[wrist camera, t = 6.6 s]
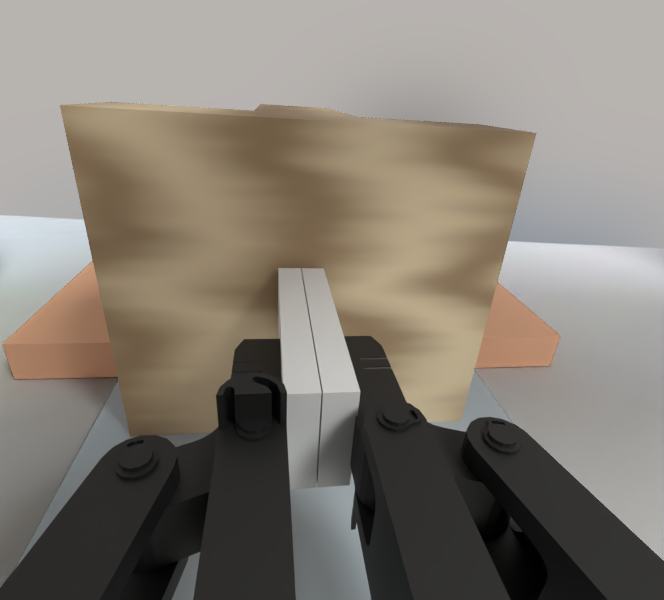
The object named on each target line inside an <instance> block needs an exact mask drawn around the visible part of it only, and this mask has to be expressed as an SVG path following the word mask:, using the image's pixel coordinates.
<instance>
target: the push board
mask: <svg viewBox="0 0 664 600" xmlns="http://www.w3.org/2000/svg"><path fill="white" fill-rule="evenodd" d="M560 337H561V336H560V335H559V334H558V333H557V332H555V331H554V330H553V329H552V328H551V327H549V326H548V325H547V324H546V323H545V322H544V321H542V320H541V319H540V318H539V317H538V316H537V315H535V314H534V313H533V312H532V311H531V310H530V309H528V308H527V307H526V306H525V305H524V304H523V303H521V302H520V301H519V300H518V299H517V298H516V297H514V296H513V295H512V294H511V293H510V292H508V291H507V290H506V289H505V288H504V287H503V286H501V285H500V284H499V283H498V282H497V285H496V289H495V293H494V297H493V300H492V304H491V308H490V312H489V316H488V320H487V323H486V327H485V331H484V335H483V339H482V343H481V346H480V350H479V354H478V358H477V362H476V365H475V368H490V367H530V366H550V365H551V362H552V359H553V356H554V354H555V351H556V348H557V345H558V343H559V340H560ZM2 345H3V348H4V351H5V354H6V357H7V360H8V362H9V365H10V368H11V371H12V374H13V377H14V379H53V378H92V377H117V372H116V368H115V363H114V358H113V354H112V349H111V344H110V339H109V335H108V330H107V325H106V320H105V316H104V311H103V306H102V302H101V297H100V292H99V287H98V283H97V278H96V273H95V269H94V264H93V261H92V262H91V263H90V264H89V265H88V266H86V267H85V268H84V269H83V270H82V271H81V272H80V273H79V274H78V275H77V276H76V277H75V278H73V279H72V280H71V281H70V282H69V283H68V284H67V285H66V286H65V287H64V288H63V289H62V290H60V291H59V292H58V293H57V294H56V295H55V296H54V297H53V298H52V299H51V300H50V301H48V302H47V303H46V304H45V305H44V306H43V307H42V308H41V309H40V310H39V311H38V312H37V313H35V314H34V315H33V316H32V317H31V318H30V319H29V320H28V321H27V322H26V323H25V324H23V325H22V326H21V327H20V328H19V329H18V330H17V331H16V332H15V333H14V334H13V335H12V336H10V337H9V338H8V339H7V340H6V341H5V342H4V343H3V344H2ZM480 417H494V418H500V419H504V420H506V421H508V422H511V423H512V421H511V420H510V418H509V417H508V416H507V414H506V413H505V411H504V410H503V409H502V407H501V406H500V404H499V403H498V402H497V400H496V399H495V398H494V396H493V395H492V393H491V392H490V391H489V389H488V388H487V386H486V385H485V384H484V382H483V381H482V379H481V378H480V377H479V375H478V374H477V372H476V371H475V370H474V373H473V377H472V381H471V385H470V388H469V392H468V396H467V400H466V404H465V407H464V411H463V415H462V419H461V421H447V422H429V423H431V424H433V425H436V426H440V427H443V428H449V429H454V430H459V431H464V432H466V430H467V428H468V426H469V424H470V423H471V421H473V420H475V419H477V418H480ZM209 434H210V433H196V434H175V435H157V436H160V437H163V438H167V439H168V440H169V441H170V442H171V443H172V444H174V445H175V447H178V446H181V445H184V444H188V443H191V442H194V441H196V440H199V439H202V438H204V437H205V436H207V435H209ZM134 437H138V436H133V437H130V434H129V429H128V424H127V420H126V415H125V410H124V405H123V401H122V396H121V391H120V387H119V382H118V381H117V383H116V385H115V387H114V388H113V390H112V392H111V394H110V396H109V398H108V399H107V401H106V403H105V405H104V407H103V408H102V410H101V412H100V414H99V416H98V418H97V419H96V421H95V423H94V425H93V427H92V429H91V430H90V432H89V434H88V436H87V438H86V440H85V441H84V443H83V445H82V447H81V449H80V451H79V452H78V454H77V456H76V458H75V460H74V461H73V463H72V465H71V467H70V469H69V471H68V472H67V474H66V476H65V478H64V480H63V482H62V483H61V485H60V487H59V489H58V491H57V493H56V494H55V496H54V498H53V500H52V502H51V504H50V505H49V507H48V509H47V511H46V513H45V514H44V516H43V518H42V520H41V522H40V524H39V525H38V527H37V529H36V531H35V533H34V535H33V536H32V538H31V540H30V542H29V544H28V546H27V547H26V549H25V551H24V553H23V555H22V557H21V558H20V560H19V562H18V564H17V566H18V565H19V563H20V562H21V561H22V560H23V558H24V557H25V556H26V554H27V553H28V552H29V551H30V549H31V548H32V547H33V545H34V544H35V543H36V542H37V540H38V539H39V538H40V536H41V535H42V534H43V533H44V531H45V530H46V529H47V527H48V526H49V525H50V523H51V522H52V521H53V520H54V518H55V517H56V516H57V514H58V513H59V512H60V511H61V509H62V508H63V507H64V505H65V504H66V503H67V502H68V500H69V499H70V498H71V496H72V495H73V494H74V493H75V491H76V490H77V489H78V487H79V486H80V485H81V484H82V482H83V481H84V480H85V478H86V477H87V476H88V475H89V473H90V472H91V471H92V469H93V468H94V467H95V465H96V464H97V463H98V462H99V460H100V459H101V458H102V457H103V456H104V455H105V454H106V453H107V452H108V451H109V450H110V449H111V448H112V447H114V446H116V445H118V444H119V443H121V442H123V441H125V440H127V439H131V438H134ZM354 492H355V485H354V480H353V475H352V471H351V478H350V485H347V486H332V487H318V488H317V482H316V488H304V489H290V499H291V517H292V536H293V555H294V574H295V593H296V600H371V595H370V590H369V585H368V579H367V574H366V569H365V564H364V559H363V553H362V548H361V543H360V538H359V533H358V527H357V523H356V529H355V530H351V516H352V508H353V500H354ZM199 557H200V552H198V553H196V554H193V555H191V556H189V558H188V562H187V564H186V566H185V569H184V571H183V574H182V576H181V578H180V581H179V583H178V586H177V588H176V590H175V593H174V595H173V598H172V600H193V597H194V590H195V584H196V577H197V570H198V564H199ZM17 566H16V567H17ZM16 567H15V569H16ZM15 569H14V570H15Z"/></svg>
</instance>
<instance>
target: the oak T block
mask: <svg viewBox="0 0 664 600" xmlns="http://www.w3.org/2000/svg"><path fill="white" fill-rule="evenodd" d="M60 108H61V113H62V118H63V122H64V127H65V132H66V137H67V141H68V146H69V151H70V155H71V160H72V165H73V169H74V174H75V179H76V183H77V188H78V193H79V198H80V202H81V207H82V212H83V217H84V221H85V226H86V231H87V236H88V240H89V245H90V250H91V254H92V259H93V264H94V269H95V273H96V278H97V283H98V287H99V292H100V297H101V302H102V306H103V311H104V316H105V320H106V325H107V330H108V335H109V339H110V344H111V349H112V354H113V358H114V363H115V368H116V372H117V377H118V382H119V387H120V391H121V396H122V401H123V405H124V410H125V415H126V420H127V424H128V429H129V434H130V437H133V436H141V435H175V434H196V433H212V432H213V431H214V430H215V429H216V428H218V414H217V402H216V394H217V392H218V390H219V388H220V386H221V385H223V384H224V383H225V382H226V381H227V380H229V379H231V375H232V365H233V358H234V351H235V349H236V348H237V347H238V345H239V344H240V343H241V342H242V341H243V340H244V339H278V268H301V273H302V268H324V271H325V274H326V278H327V281H328V284H329V288H330V291H331V294H332V298H333V301H334V304H335V308H336V311H337V315H338V318H339V321H340V325H341V328H342V331H343V335H344V336H371V337H373V338H374V339H375V340H376V341H377V342H378V343H380V344H381V345H382V347H383V349H384V352H385V354H386V356H387V359H388V361H389V363H390V365H391V369H392V370H393V372H394V375H395V377H396V379H397V381H398V384H399V386H400V388H401V391H402V393H403V395H404V397H405V400H406V402H407V403H410V404H412V405H413V406H414V407H416V408H417V409H419V410H420V411H421V412H422V414H423V415H424V416H425V418H426V420H427V422H447V421H461V419H462V415H463V411H464V407H465V404H466V400H467V396H468V392H469V388H470V385H471V381H472V377H473V373H474V369H475V365H476V362H477V358H478V354H479V350H480V346H481V343H482V339H483V335H484V331H485V327H486V323H487V320H488V316H489V312H490V308H491V304H492V300H493V297H494V293H495V289H496V285H497V281H498V278H499V274H500V270H501V266H502V262H503V258H504V255H505V251H506V247H507V243H508V239H509V235H510V231H511V227H512V224H513V220H514V216H515V212H516V209H517V205H518V201H519V197H520V193H521V190H522V186H523V182H524V178H525V174H526V170H527V167H528V163H529V159H530V155H531V151H532V148H533V144H534V140H535V136H536V133H532V132H525V131H518V130H512V129H506V128H499V127H493V126H485V125H479V124H462V123H447V122H430V121H412V120H396V119H381V118H363V117H357V116H353V115H349V114H346V113H342V112H339V111H335V110H332V109H328V108H312V107H298V106H282V105H265V104H261V105H259V106H258V107H257V109H255V110H254V111H249V110H232V109H216V108H200V107H183V106H167V105H150V104H133V103H117V102H105V103H88V104H72V105H60Z"/></svg>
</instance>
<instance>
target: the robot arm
mask: <svg viewBox="0 0 664 600" xmlns="http://www.w3.org/2000/svg"><path fill="white" fill-rule="evenodd" d="M216 402H217V414H218V428H216V429H215V430H214V431H213V432H212V433H210V434H209V435H207V436H205V437H204V438H202V439H199V440H196V441H194V442H191V443H188V444H184V445H181V446H178V447H175V445H174V444H172V443H171V442H170V441H169V440H168V439H167V438H163V437H160V436H157V435H141V436H138V437H134V438H131V439H127V440H125V441H123V442H121V443H119V444H118V445H116V446H114V447H112V448H111V449H110V450H109V451H108V452H107V453H106V454H105V455H104V456H103V457H102V458H101V459H100V460H99V462H98V463H97V464H96V465H95V467H94V468H93V469H92V471H91V472H90V473H89V475H88V476H87V477H86V478H85V480H84V481H83V482H82V484H81V485H80V486H79V487H78V489H77V490H76V491H75V493H74V494H73V495H72V496H71V498H70V499H69V500H68V502H67V503H66V504H65V505H64V507H63V508H62V509H61V511H60V512H59V513H58V514H57V516H56V517H55V518H54V520H53V521H52V522H51V523H50V525H49V526H48V527H47V529H46V530H45V531H44V533H43V534H42V535H41V536H40V538H39V539H38V540H37V542H36V543H35V544H34V545H33V547H32V548H31V549H30V551H29V552H28V553H27V554H26V556H25V557H24V558H23V560H22V561H21V562H20V563H19V565H18V566H17V567H16V569H15V570H14V571H13V572H12V574H11V575H10V576H9V578H8V579H7V580H6V581H5V583H4V584H3V585H2V587H1V588H0V600H172V598H173V595H174V593H175V590H176V588H177V586H178V583H179V581H180V578H181V576H182V574H183V571H184V569H185V566H186V564H187V562H188V558H189V556H191V555H193V554H196V553H198V552H200V557H199V564H198V570H197V577H196V584H195V590H194V597H193V600H296V593H295V574H294V555H293V536H292V517H291V499H290V489H304V488H316V482H317V488H318V487H332V486H347V485H350V478H351V471H352V475H353V480H354V485H355V492H354V500H353V508H352V516H351V530H355V529H356V523H357V527H358V533H359V538H360V543H361V548H362V553H363V559H364V564H365V569H366V574H367V579H368V585H369V590H370V595H371V600H664V561H663V560H662V559H661V558H660V557H659V556H658V555H657V554H655V553H654V552H653V551H652V550H651V549H650V548H649V547H648V546H647V545H646V544H645V543H644V542H643V541H642V540H640V539H639V538H638V537H637V536H636V535H635V534H634V533H633V532H632V531H631V530H630V529H629V528H628V527H627V526H626V525H624V524H623V523H622V522H621V521H620V520H619V519H618V518H617V517H616V516H615V515H614V514H613V513H612V512H611V511H610V510H608V509H607V508H606V507H605V506H604V505H603V504H602V503H601V502H600V501H599V500H598V499H597V498H596V497H595V496H594V495H592V494H591V493H590V492H589V491H588V490H587V489H586V488H585V487H584V486H583V485H582V484H581V483H580V482H579V481H578V480H576V479H575V478H574V477H573V476H572V475H571V474H570V473H569V472H568V471H567V470H566V469H565V468H564V467H563V466H561V465H560V464H559V463H558V462H557V461H556V460H555V459H554V458H553V457H552V456H551V455H550V454H549V453H548V452H547V451H545V450H544V449H543V448H542V447H541V446H540V445H539V444H538V443H537V442H536V441H535V440H534V439H533V438H532V437H531V436H529V435H528V434H527V433H526V432H525V431H524V430H522V429H521V428H519V427H518V426H517V425H515V424H513V423H511V422H508V421H506V420H504V419H500V418H494V417H480V418H477V419H475V420H473V421H471V423H470V424H469V426H468V428H467V430H466V432H464V431H459V430H454V429H449V428H443V427H440V426H436V425H433V424H431V423H429V422H427V420H426V418H425V416H424V415H423V414H422V412H421V411H420V410H419V409H417V408H416V407H414V406H413V405H412V404H410V403H407V402H406V400H405V397H404V395H403V393H402V391H401V388H400V386H399V384H398V381H397V379H396V377H395V375H394V372H393V370H392V369H391V365H390V363H389V361H388V359H387V356H386V354H385V352H384V349H383V347H382V345H381V344H380V343H378V342H377V341H376V340H375V339H374V338H373V337H371V336H344V335H343V331H342V328H341V325H340V321H339V318H338V315H337V311H336V308H335V304H334V301H333V298H332V294H331V291H330V288H329V284H328V281H327V278H326V274H325V271H324V268H302V273H301V268H278V339H244V340H243V341H242V342H241V343H240V344H239V345H238V347H237V348H236V349H235V351H234V358H233V365H232V375H231V379H229V380H227V381H226V382H225V383H224V384H223V385H221V386H220V388H219V390H218V392H217V394H216Z"/></svg>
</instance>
